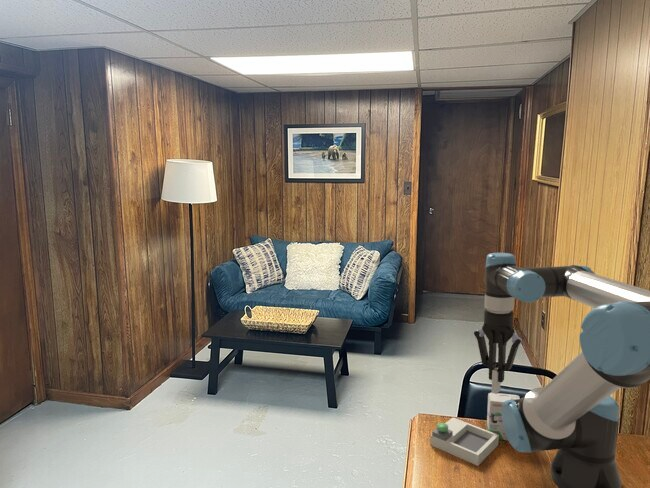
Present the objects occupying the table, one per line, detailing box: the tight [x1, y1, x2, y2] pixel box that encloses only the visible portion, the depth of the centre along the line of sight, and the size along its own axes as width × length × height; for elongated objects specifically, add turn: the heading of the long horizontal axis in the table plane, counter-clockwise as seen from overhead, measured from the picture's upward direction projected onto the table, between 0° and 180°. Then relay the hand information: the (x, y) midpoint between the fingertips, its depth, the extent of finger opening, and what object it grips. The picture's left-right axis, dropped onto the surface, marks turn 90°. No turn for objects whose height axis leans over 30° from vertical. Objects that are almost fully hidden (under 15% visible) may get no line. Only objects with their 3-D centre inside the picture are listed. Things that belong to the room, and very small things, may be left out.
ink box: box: [486, 392, 521, 441], centre depth 136 cm, size 8×5×12 cm, turn 77°
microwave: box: [429, 417, 499, 467], centre depth 132 cm, size 14×12×4 cm
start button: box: [436, 422, 448, 433], centre depth 132 cm, size 3×3×2 cm
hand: (495, 391), depth 133 cm, fingers closed
